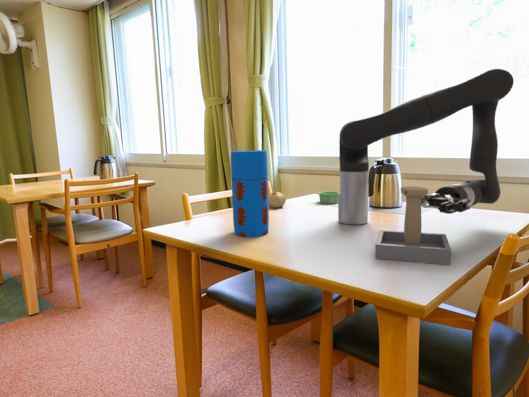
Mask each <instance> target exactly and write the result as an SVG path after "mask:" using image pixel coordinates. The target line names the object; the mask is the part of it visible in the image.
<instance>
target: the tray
mask: <svg viewBox="0 0 529 397" xmlns="http://www.w3.org/2000/svg"><path fill="white" fill-rule="evenodd" d="M376 239H377V240H376V242H375V260H385V261H397V262H398V261H399V262H408V261H412V262H411V263H420V262H424V263H423V264H431V263H435V264H434V265H443V264H445V266H451V259H452V249H451V246H450V243H449V239H448V237H447V234H446V233H437V232H436V233H434V232H421V238H420V242H419V246H407V245H405V238H404V230H403V231H399V230H385V229H383V230H381V229H379V232H378V235H377V238H376Z"/></svg>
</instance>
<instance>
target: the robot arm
mask: <svg viewBox="0 0 529 397" xmlns="http://www.w3.org/2000/svg"><path fill="white" fill-rule="evenodd" d="M513 86H514V76H513V75H512V74H511V73H510V72H509V71H508V70H506V69H502V68H494V69H489V70H487V71H484V72H483V73H480V74H478V75H476V76H475V77H472V78H470V79H468V80H466V81H464V82H461V83H459V84H455V85H452V86H449V87H446V88H443V89H439V90H435V91H433V92H430V93H425V94H423V95H421V96H418V97H415V98H412V99H409V100H407V101H405V102H403V103H400V104H398V105H396V106H395V107H393V108H391V109H389V110H387V111H385V112H383V113H380V114H377V115H373V116H370V117H367V118H362V119H358V120H352V121H349V122H347V123H345V124H344V125H343V126H342V127H341V129H340V132H339V141H338V142H339V146H338V148H339V150H338V151H339V160H338V161H339V193H340V194H339V195H338V203H337V204H338V205H337V206H338V208H337V210H338V211H337V212H338V213H337V214H338V216H337V217H338V218H337V219H338V220H337V221H338V222H337V223H341V224H345V225H365V224H367V223H368V221H369V220H368V218H369V174H370V173H369V171H370V170H369V169H370V165H369V155H368V154H369V152H368V151H369V146H370V145H372V144H373V143H376V142H378V141H381V140H383V139H385V138H387V137H391V136H395V135H400V134H403V133H409V132H411V131H414V130H418V129H421V128H424V127H427V126H429V125H433V124H434V123H437V122H440V121H443V120H445V119H446V118H448V117H451V116H452V115H454V114H456V113H457V112H459V111H462V110H464V109H466V108H468V107H472V108H471V110H472V133H471V134H472V135H471V136H472V137H471V144H470V145H471V147H470V153H469V154H470V157H469V164H468V165H469V166H468V167H469V169H470V170H471V171H472V172H475V173H480V174H482V175H483V177H484V179H466V180H463V181H462V182H461V183H454V184H449V185H444V186H441V187H440V188H438V189H437V190H436V191H435V193H431V194H427V195H426V196H424V197H422V198H421V208H424V209H429V208H430V209H432V208H433V209H435V210H436V209H437V210H438V211H439V213H443V214H449V215H450V214H454V213H463V212H465V211H467V210H468V211H469V210H471V207H473V206H476V205H477V204H487V205H488V204H491V205H492V204H495V203H497V201H498V200H499V199H500V197H501V186H500V182H499V178H498V170H497V160H498V158H497V157H498V136H497V129H496V113H497V108H498V104H499V101H501V100H502V99H503V98H505V97H506V96H507V95H508V94H509V93H510V92H511V90H512V88H513Z"/></svg>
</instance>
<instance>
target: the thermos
mask: <svg viewBox="0 0 529 397" xmlns="http://www.w3.org/2000/svg"><path fill="white" fill-rule="evenodd" d="M230 167H231V168H230V170H231V190H232V191H231V192H232V193H231V195H232V197H231V198H232V219H233V220H232V221H233V231H234V235H235V236H237V237H240V238H256V237H257V238H259V237H263V236H266V235H268V233H269V227H270V226H269V225H270V224H269V223H270V222H269V221H270V220H269V219H270V217H269V206H268V195H269V181H268V180H269V179H268V178H269V177H268V154H267V150H262V149H261V150H236V151H235V150H232V151H231V152H230Z"/></svg>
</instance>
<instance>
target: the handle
mask: <svg viewBox="0 0 529 397" xmlns="http://www.w3.org/2000/svg"><path fill="white" fill-rule="evenodd" d="M400 193H401V194H402V195H404V197H405V198H406V202H405V203H406V204H405V212H404V213H405V214H404V221H403V222H404V223H403V224H404V226H403V232H404V238H405V245H407V246H419V242H420V238H421V233H422V206H421V198H422V197H424V196H426V195H429V194H428V193H429V189H428V188H426V187H423V186H422V187H421V186H420V187H419V186H401V187H400Z"/></svg>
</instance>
